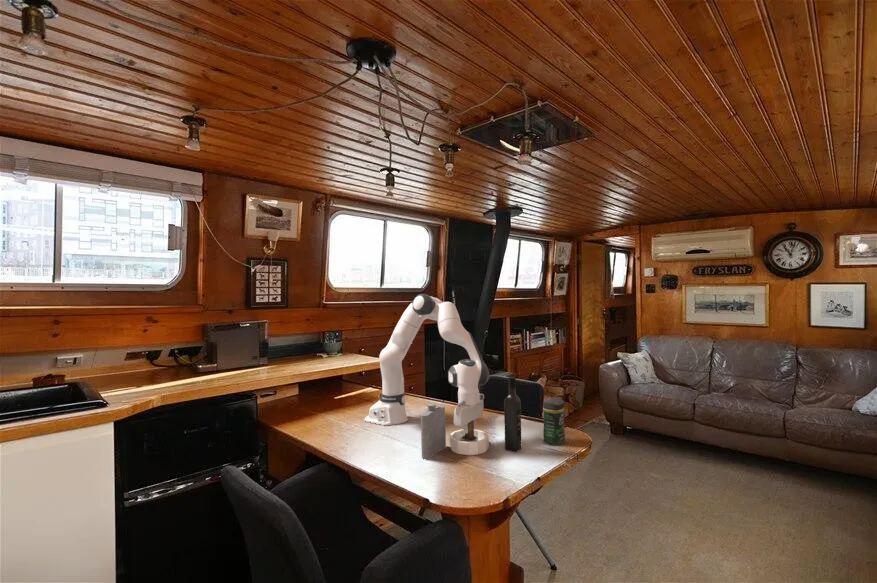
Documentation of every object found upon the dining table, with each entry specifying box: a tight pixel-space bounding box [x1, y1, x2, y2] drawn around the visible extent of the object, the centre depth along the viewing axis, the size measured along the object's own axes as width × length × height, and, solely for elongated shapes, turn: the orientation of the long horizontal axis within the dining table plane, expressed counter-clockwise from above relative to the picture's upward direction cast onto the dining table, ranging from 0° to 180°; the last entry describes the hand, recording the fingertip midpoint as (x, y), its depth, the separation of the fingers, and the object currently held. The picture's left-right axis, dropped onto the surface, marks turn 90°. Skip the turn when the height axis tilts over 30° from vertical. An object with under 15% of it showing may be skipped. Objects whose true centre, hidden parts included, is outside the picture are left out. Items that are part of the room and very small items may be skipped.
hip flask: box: [420, 403, 447, 460], centre depth 174 cm, size 16×4×20 cm, turn 148°
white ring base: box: [449, 428, 490, 456], centre depth 178 cm, size 16×16×5 cm
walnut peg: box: [465, 420, 474, 441], centre depth 178 cm, size 4×4×8 cm
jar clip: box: [460, 435, 478, 442], centre depth 178 cm, size 7×7×3 cm
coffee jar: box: [542, 397, 566, 446], centre depth 182 cm, size 10×8×19 cm
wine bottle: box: [503, 376, 522, 453], centre depth 175 cm, size 6×6×30 cm
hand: (469, 431), depth 178 cm, fingers closed on walnut peg, 4 cm apart
